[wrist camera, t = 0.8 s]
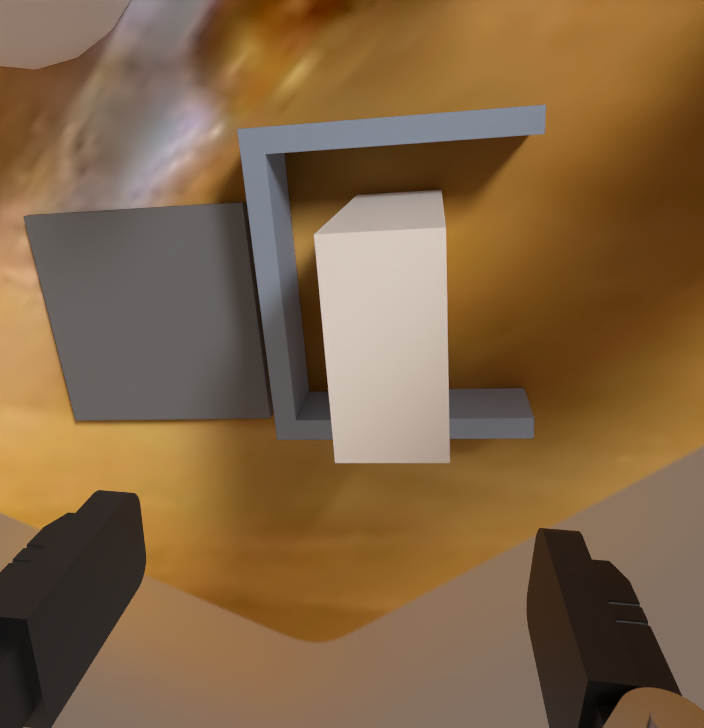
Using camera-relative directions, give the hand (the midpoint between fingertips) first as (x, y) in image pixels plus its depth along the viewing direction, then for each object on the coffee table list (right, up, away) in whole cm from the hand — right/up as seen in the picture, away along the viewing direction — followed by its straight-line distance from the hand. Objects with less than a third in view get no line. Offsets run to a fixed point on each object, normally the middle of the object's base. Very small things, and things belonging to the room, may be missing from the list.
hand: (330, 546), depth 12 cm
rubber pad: (-11, +6, +25) cm, 28 cm away
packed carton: (+3, +9, +22) cm, 24 cm away
